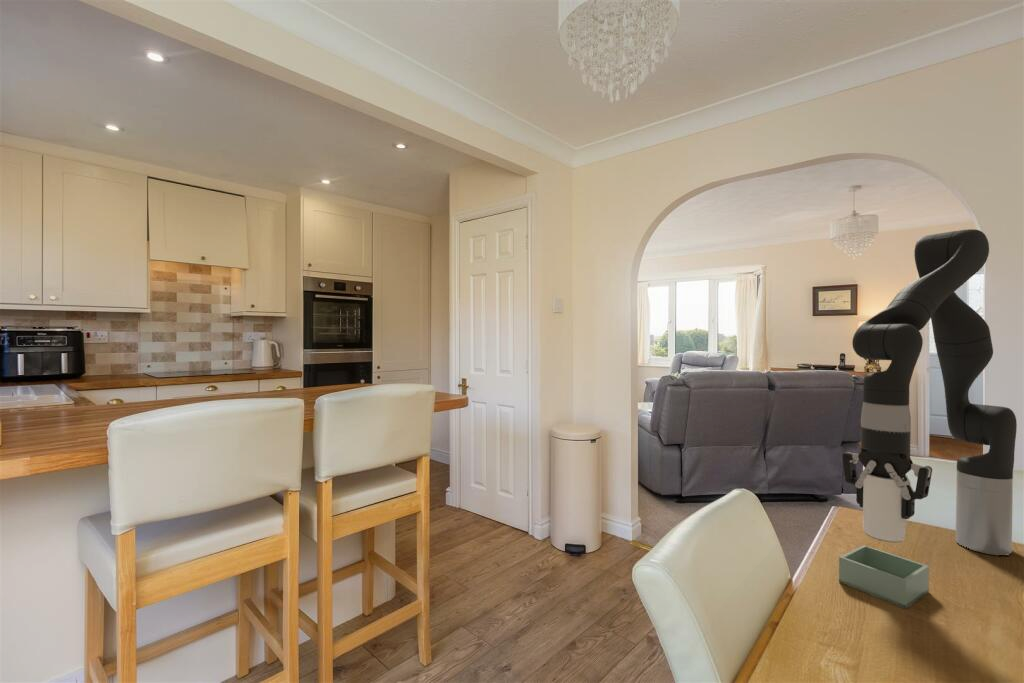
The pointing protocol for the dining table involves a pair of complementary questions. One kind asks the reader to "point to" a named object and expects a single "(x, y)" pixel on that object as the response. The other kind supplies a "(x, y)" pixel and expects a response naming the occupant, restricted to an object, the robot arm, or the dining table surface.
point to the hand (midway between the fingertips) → (884, 512)
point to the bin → (884, 575)
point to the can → (882, 509)
